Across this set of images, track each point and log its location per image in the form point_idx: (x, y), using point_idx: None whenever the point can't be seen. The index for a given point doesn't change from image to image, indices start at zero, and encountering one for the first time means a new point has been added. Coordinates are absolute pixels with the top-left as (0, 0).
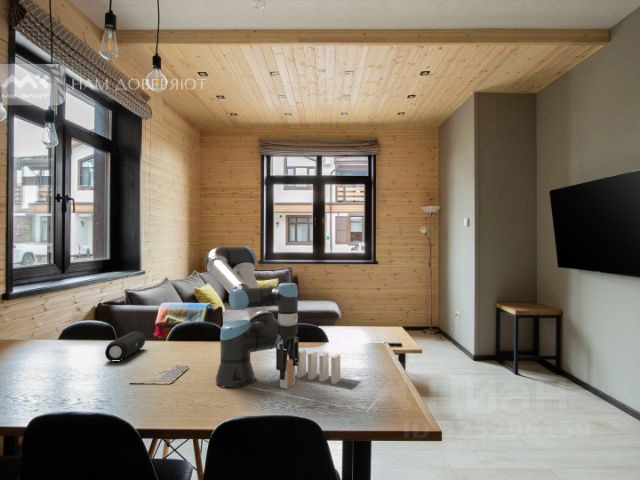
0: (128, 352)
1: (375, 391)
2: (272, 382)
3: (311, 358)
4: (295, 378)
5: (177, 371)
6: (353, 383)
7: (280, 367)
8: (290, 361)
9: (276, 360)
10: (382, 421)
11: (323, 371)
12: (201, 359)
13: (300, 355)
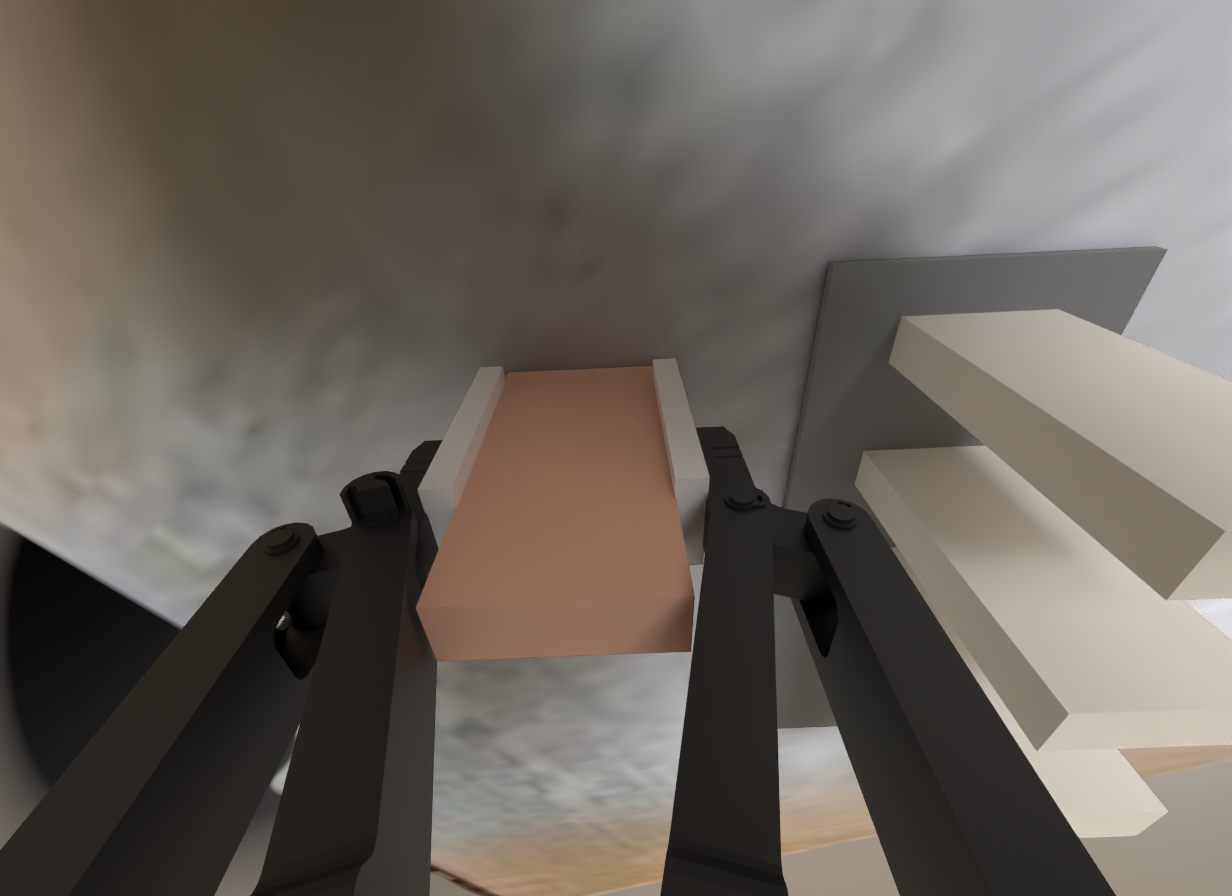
0: None
1: (779, 781)
2: (623, 107)
3: (992, 685)
4: (847, 329)
5: None
6: None
7: (274, 633)
8: (597, 640)
9: (141, 691)
10: (486, 849)
11: None
12: None
13: (1122, 552)
